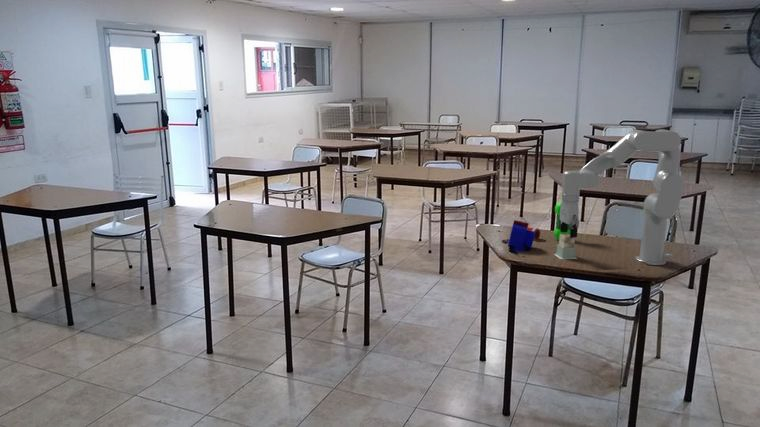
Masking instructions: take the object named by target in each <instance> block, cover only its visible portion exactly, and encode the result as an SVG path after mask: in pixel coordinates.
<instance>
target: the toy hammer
mask: <svg viewBox="0 0 760 427" xmlns="http://www.w3.org/2000/svg"><path fill="white" fill-rule="evenodd" d="M527 230H530V231H534V232H535V235H534V239H533V241H536V240H539V239H540V237H541V230H540V228H538V227H529V226H528V227H527ZM509 239H510V237H508V238H506V239H501V243H502V244H506V243H509Z"/></svg>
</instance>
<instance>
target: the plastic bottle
mask: <svg viewBox="0 0 760 427" xmlns="http://www.w3.org/2000/svg"><path fill="white" fill-rule="evenodd" d="M561 202H562V199H561V200H560V201H558V202H557V203H556V205H555V206H554V214H556V222H555V228H554V230H553V236H554V238H555V239H557V241H558V242H559V238H560V234H570V229H571V226H570V224H568V230H567V232H560V230H561V223H560V222H561V220H560V208H561Z"/></svg>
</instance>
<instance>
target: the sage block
mask: <svg viewBox="0 0 760 427" xmlns="http://www.w3.org/2000/svg"><path fill="white" fill-rule="evenodd" d="M555 254H556V255H558V256H559V257H561V258H574V257H576V246H574V247H567V248H564V247H562V246H560V245H559V243H558V244H557V245H556V253H555Z"/></svg>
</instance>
